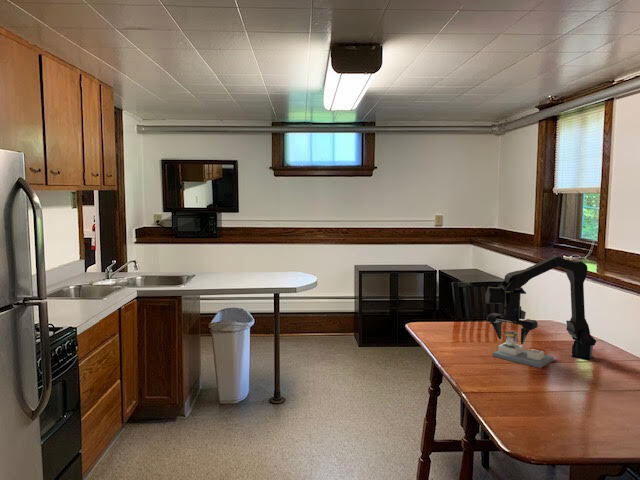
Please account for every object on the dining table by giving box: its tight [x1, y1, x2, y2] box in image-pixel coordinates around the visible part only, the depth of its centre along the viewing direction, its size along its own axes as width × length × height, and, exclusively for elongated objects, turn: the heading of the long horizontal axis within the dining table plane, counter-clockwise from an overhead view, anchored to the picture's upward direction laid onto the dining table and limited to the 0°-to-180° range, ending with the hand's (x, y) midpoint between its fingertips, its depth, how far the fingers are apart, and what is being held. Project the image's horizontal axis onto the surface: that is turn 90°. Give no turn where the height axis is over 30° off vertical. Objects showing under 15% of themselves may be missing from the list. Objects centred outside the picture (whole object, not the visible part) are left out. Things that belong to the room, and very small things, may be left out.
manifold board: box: [492, 341, 554, 369], centre depth 191 cm, size 19×13×4 cm
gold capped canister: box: [504, 330, 519, 349], centre depth 194 cm, size 5×5×8 cm
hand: (510, 341), depth 194 cm, fingers open, 9 cm apart
